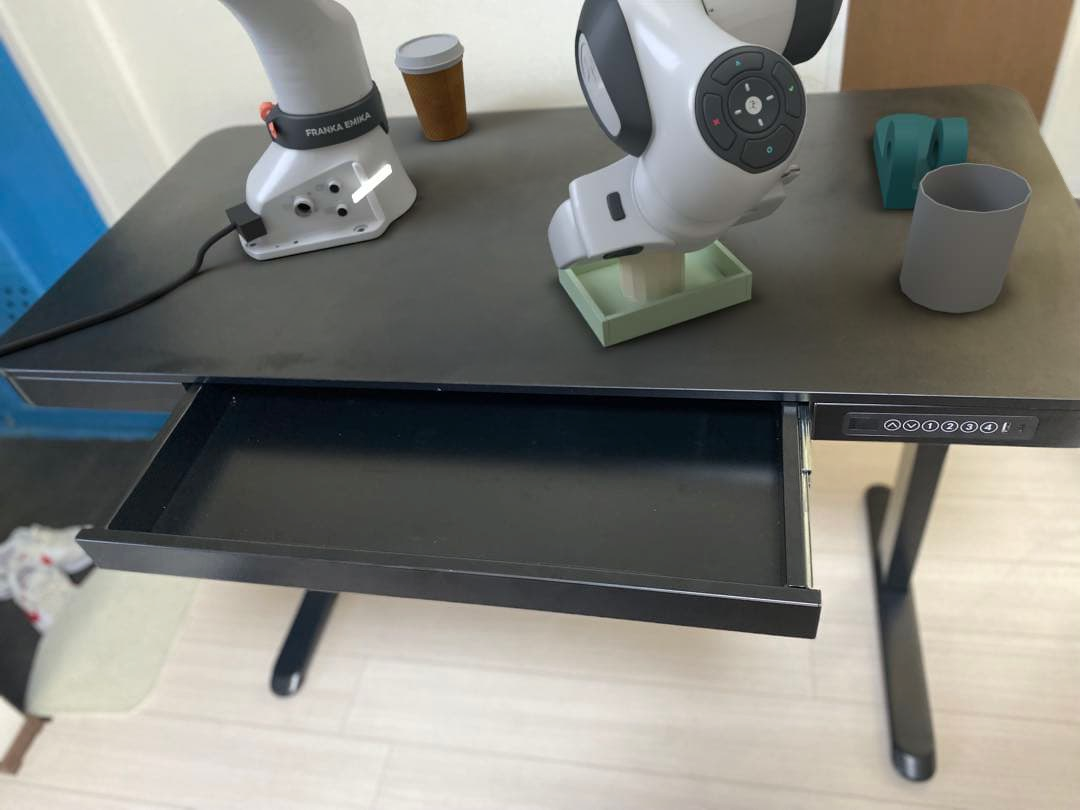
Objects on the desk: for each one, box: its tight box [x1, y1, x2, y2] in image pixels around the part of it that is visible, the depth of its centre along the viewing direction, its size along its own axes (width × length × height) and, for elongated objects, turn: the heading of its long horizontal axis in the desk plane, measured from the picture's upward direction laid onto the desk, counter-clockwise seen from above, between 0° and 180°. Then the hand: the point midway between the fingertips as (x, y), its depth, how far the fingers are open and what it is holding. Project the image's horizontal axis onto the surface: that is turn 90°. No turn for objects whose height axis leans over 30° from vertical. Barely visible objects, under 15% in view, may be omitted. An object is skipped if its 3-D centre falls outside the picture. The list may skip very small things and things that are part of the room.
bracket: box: [872, 113, 969, 210], centre depth 86 cm, size 18×7×8 cm, turn 168°
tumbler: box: [617, 252, 685, 305], centre depth 75 cm, size 6×6×9 cm
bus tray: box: [557, 239, 753, 348], centre depth 78 cm, size 15×12×3 cm
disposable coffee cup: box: [394, 33, 469, 142], centre depth 109 cm, size 10×10×12 cm
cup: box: [899, 162, 1033, 314], centre depth 70 cm, size 8×8×10 cm
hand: (647, 240), depth 76 cm, fingers closed on tumbler, 6 cm apart
